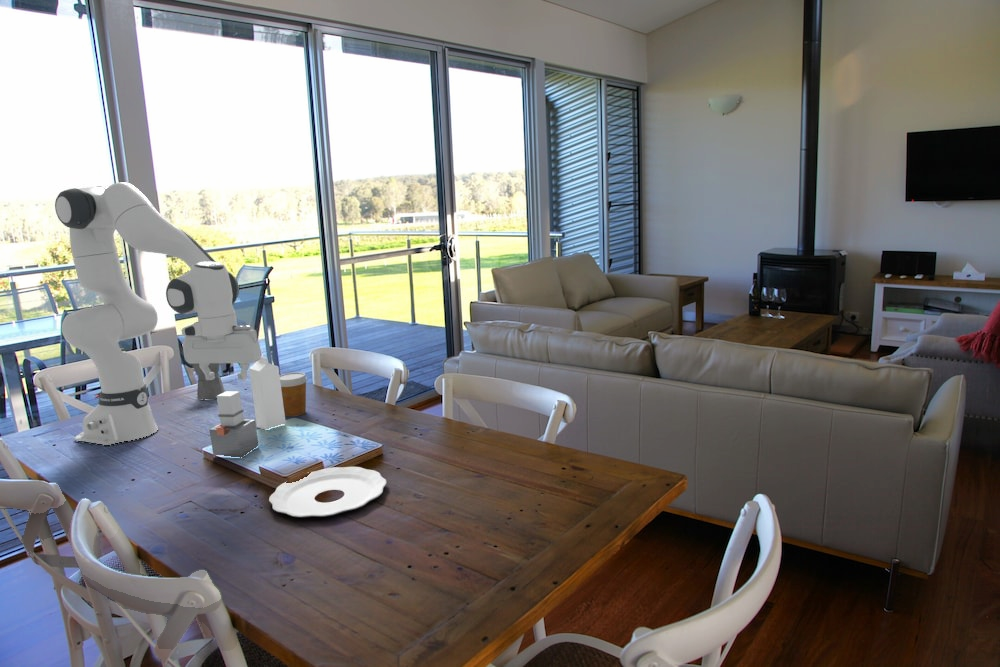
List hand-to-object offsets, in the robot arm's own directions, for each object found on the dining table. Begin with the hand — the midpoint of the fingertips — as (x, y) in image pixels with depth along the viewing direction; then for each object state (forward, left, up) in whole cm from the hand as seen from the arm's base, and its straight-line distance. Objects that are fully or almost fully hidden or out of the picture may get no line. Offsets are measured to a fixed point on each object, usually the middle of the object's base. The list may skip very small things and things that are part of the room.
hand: (226, 379), depth 174 cm
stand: (0, 0, -21) cm, 21 cm away
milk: (-2, +20, -21) cm, 29 cm away
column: (0, 0, -20) cm, 20 cm away
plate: (+36, -19, -22) cm, 46 cm away
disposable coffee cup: (-3, +35, -21) cm, 41 cm away
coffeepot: (-43, +51, -21) cm, 70 cm away
